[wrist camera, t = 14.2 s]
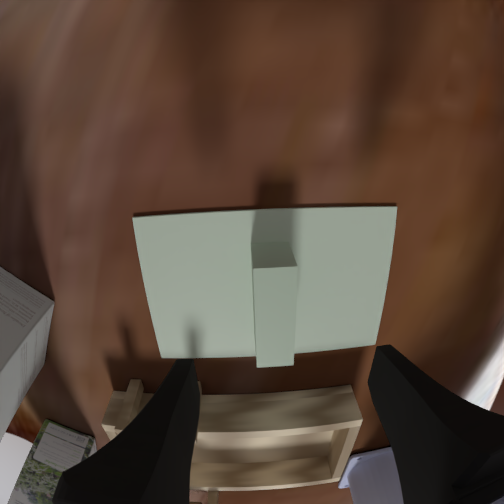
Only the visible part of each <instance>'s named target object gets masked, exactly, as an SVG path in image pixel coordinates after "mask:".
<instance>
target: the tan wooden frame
mask: <svg viewBox="0 0 504 504" xmlns="http://www.w3.org/2000/svg"><path fill="white" fill-rule="evenodd" d="M198 386H199V391H200V411H199V421H198V427H197V433H196V438H195V444H194V450H193V456H192V462H191V470H190V490H208V504H218V492H219V491H244V490H266V489H280V488H291V487H301V486H309V485H316V484H323V483H330V482H336V481H339V480H340V478H341V475H342V473H343V470H344V468H345V466H346V463H347V461H348V458H349V456H350V453H351V451H352V448H353V445H354V443H355V440H356V437H357V435H358V432H359V429H360V426H361V423H362V420H363V418H362V415H361V413H360V410H359V407H358V404H357V401H356V399H355V396H354V393H353V390H352V388H351V385H344V386H337V387H329V388H320V389H311V390H300V391H289V392H275V393H258V394H233V395H202V387H201V382H200V381H198ZM143 391H144V387H143V384H142V381H141V379H131V380H130V382H129V385H128V388H127V391H126V392H122V391H113V393H112V396H111V399H110V402H109V404H108V407H107V410H106V413H105V415H104V418H103V421H102V424H101V425H102V426H103V428H104V430H105V432H106V433H107V435H108V437H109V438H110V440H112V439H113V438H115V437H116V436H117V435H118V434H119V433H120V432H121V431H122V430H123V429H124V428H125V427H126V426H127V425H128V424H129V423H130V422H131V421H132V420H133V419H134V418H135V417H136V416H137V415H138V414H139V412H140V411H141V410H142V409H143V408H144V406H145V405H146V404H147V403H148V401H149V400H150V399H151V398H152V396H153V395H154V394H152V393H143Z"/></svg>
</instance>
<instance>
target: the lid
mask: <svg viewBox="0 0 504 504" xmlns="http://www.w3.org/2000/svg"><path fill="white" fill-rule="evenodd" d="M396 215H397V207H396V206H351V207H305V208H275V209H251V210H231V211H212V212H195V213H180V214H165V215H151V216H138V217H133V218H132V219H133V225H134V231H135V238H136V243H137V249H138V255H139V260H140V265H141V271H142V276H143V281H144V286H145V290H146V295H147V300H148V304H149V309H150V313H151V317H152V322H153V326H154V330H155V334H156V338H157V342H158V346H159V350H160V354H161V357H162V358H224V357H249V356H256V363H257V368H261V367H276V366H290V365H294V354H295V353H306V352H317V351H327V350H336V349H345V348H353V347H361V346H368V345H375V343H376V339H377V334H378V329H379V325H380V320H381V315H382V310H383V304H384V299H385V294H386V288H387V282H388V276H389V269H390V263H391V256H392V249H393V241H394V233H395V224H396Z"/></svg>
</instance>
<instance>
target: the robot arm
mask: <svg viewBox="0 0 504 504" xmlns="http://www.w3.org/2000/svg"><path fill="white" fill-rule="evenodd" d="M368 386H369V390H370V394H371V397H372V401H373V404H374V406H375V409H376V411H377V413H378V416H379V418H380V421H381V423H382V425H383V428H384V430H385V433H386V435H387V438H388V440H389V442H390V445H391V447H388V448H383V449H379V450H375V451H370V452H365V453H360V454H355V455H352V456H351V457H350V458H349V460H348V463H347V465H346V468H345V470H344V473H343V475H342V477H341V480H340V482H339V484H338V488H346V487H350V491H351V495H352V499H353V503H354V504H504V416H503V415H499V414H497V413H494V412H491V411H488V410H486V409H483V408H481V407H479V406H477V405H475V404H472V403H470V402H468V401H466V400H464V399H463V398H461V397H459V396H457V395H456V394H454V393H452V392H451V391H449V390H448V389H446V388H445V387H443V386H442V385H440V384H439V383H437V382H436V381H435V380H433V379H432V378H431V377H429V376H428V375H427V374H425V373H424V372H423V371H422V370H420V369H419V368H418V367H417V366H415V365H414V364H413V363H412V362H411V361H409V360H408V359H407V358H406V357H405V356H404V355H402V354H401V353H400V352H399V351H398V350H396V349H395V348H394V347H393V346H391V345H383V346H377V347H376V351H375V355H374V359H373V363H372V367H371V371H370V375H369V379H368ZM199 411H200V391H199V386H198V381H197V375H196V370H195V365H194V360H193V359H177V360H176V361H175V363H174V365H173V366H172V368H171V370H170V371H169V373H168V374H167V376H166V378H165V379H164V381H163V382H162V384H161V385H160V386H159V388H158V389H157V391H156V392H155V393H154V395H153V396H152V398H151V399H150V400H149V401H148V403H147V404H146V405H145V406H144V408H143V409H142V410H141V411H140V412H139V414H138V415H137V416H136V417H135V418H134V419H133V420H132V421H131V422H130V423H129V424H128V425H127V426H126V427H125V428H124V429H123V430H122V431H121V432H120V433H119V434H118V435H117V436H116V437H115V438H113V439H112V440H111V441H110V442H109V443H107V444H106V445H105V446H104V447H102V448H101V449H99V450H98V451H97V452H95V453H94V454H92V455H91V456H90V457H88V458H87V459H85V460H83V461H82V462H80V463H78V464H76V465H74V466H73V467H71V468H69V469H67V470H65V471H63V472H62V475H61V477H60V479H59V481H58V483H57V486H56V489H55V492H54V495H53V498H52V503H53V504H189V490H190V470H191V462H192V456H193V450H194V444H195V438H196V433H197V427H198V421H199Z"/></svg>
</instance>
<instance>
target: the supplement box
mask: <svg viewBox="0 0 504 504" xmlns="http://www.w3.org/2000/svg"><path fill="white" fill-rule="evenodd" d="M53 307H54V301H52V300H51V299H49V298H48V297H46V296H44V295H43V294H41V293H40V292H38V291H37V290H35V289H33V288H32V287H30V286H29V285H27V284H26V283H24V282H23V281H21V280H19V279H18V278H16V277H15V276H13V275H12V274H11V273H9V272H7V271H6V270H4V269H3V268H2V267H0V441H1V439H2V437H3V435H4V433H5V432H6V430H7V428H8V426H9V424H10V422H11V420H12V418H13V416H14V415H15V413H16V411H17V409H18V407H19V406H20V404H21V402H22V400H23V398H24V397H25V395H26V393H27V392H28V390H29V388H30V386H31V385H32V383H33V382H34V380H35V378H36V377H37V375H38V374H39V372H40V370H41V369H42V367H43V366H44V363H45V357H46V350H47V343H48V336H49V330H50V324H51V318H52V313H53Z"/></svg>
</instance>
